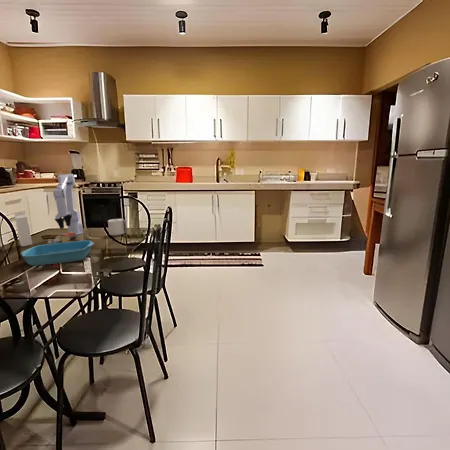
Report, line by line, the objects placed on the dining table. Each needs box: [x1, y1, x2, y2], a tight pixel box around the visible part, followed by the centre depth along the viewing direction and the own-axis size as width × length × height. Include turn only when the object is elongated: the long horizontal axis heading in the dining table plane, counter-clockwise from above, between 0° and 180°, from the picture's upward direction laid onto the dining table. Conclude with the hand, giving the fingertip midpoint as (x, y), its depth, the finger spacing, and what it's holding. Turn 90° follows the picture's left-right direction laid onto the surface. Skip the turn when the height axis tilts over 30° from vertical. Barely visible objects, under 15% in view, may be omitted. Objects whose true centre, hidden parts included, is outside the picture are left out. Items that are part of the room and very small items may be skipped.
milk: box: [14, 211, 33, 247], centre depth 207 cm, size 6×6×22 cm
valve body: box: [47, 233, 78, 244], centre depth 213 cm, size 20×6×4 cm, turn 156°
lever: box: [59, 231, 75, 237], centre depth 210 cm, size 12×3×3 cm, turn 66°
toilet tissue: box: [107, 218, 128, 236], centre depth 227 cm, size 11×12×10 cm
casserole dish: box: [20, 239, 95, 266], centre depth 175 cm, size 37×22×7 cm, turn 102°
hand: (65, 227), depth 210 cm, fingers open, 7 cm apart
